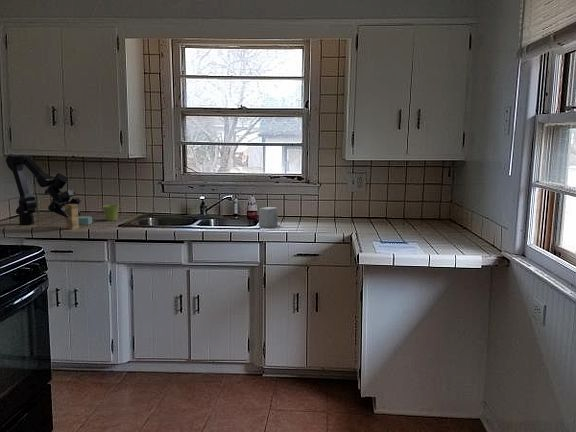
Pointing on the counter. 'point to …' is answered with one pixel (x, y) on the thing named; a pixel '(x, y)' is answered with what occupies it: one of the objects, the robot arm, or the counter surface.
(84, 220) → the base block
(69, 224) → the oak pillar
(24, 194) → the robot arm
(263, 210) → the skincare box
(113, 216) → the plant pot
